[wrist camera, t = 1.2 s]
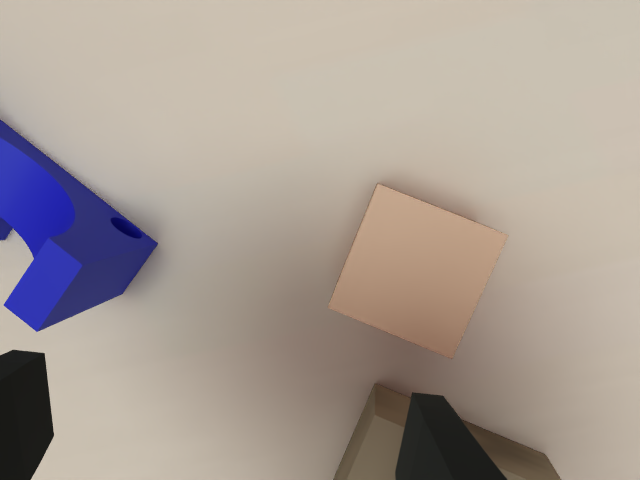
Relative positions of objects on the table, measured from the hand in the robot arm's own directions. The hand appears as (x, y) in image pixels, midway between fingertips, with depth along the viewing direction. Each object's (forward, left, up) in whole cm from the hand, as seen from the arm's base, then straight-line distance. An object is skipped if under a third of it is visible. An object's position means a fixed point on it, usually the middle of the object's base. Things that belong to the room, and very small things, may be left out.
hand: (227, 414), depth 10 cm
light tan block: (-3, -3, -12) cm, 13 cm away
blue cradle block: (+13, +1, -13) cm, 18 cm away
